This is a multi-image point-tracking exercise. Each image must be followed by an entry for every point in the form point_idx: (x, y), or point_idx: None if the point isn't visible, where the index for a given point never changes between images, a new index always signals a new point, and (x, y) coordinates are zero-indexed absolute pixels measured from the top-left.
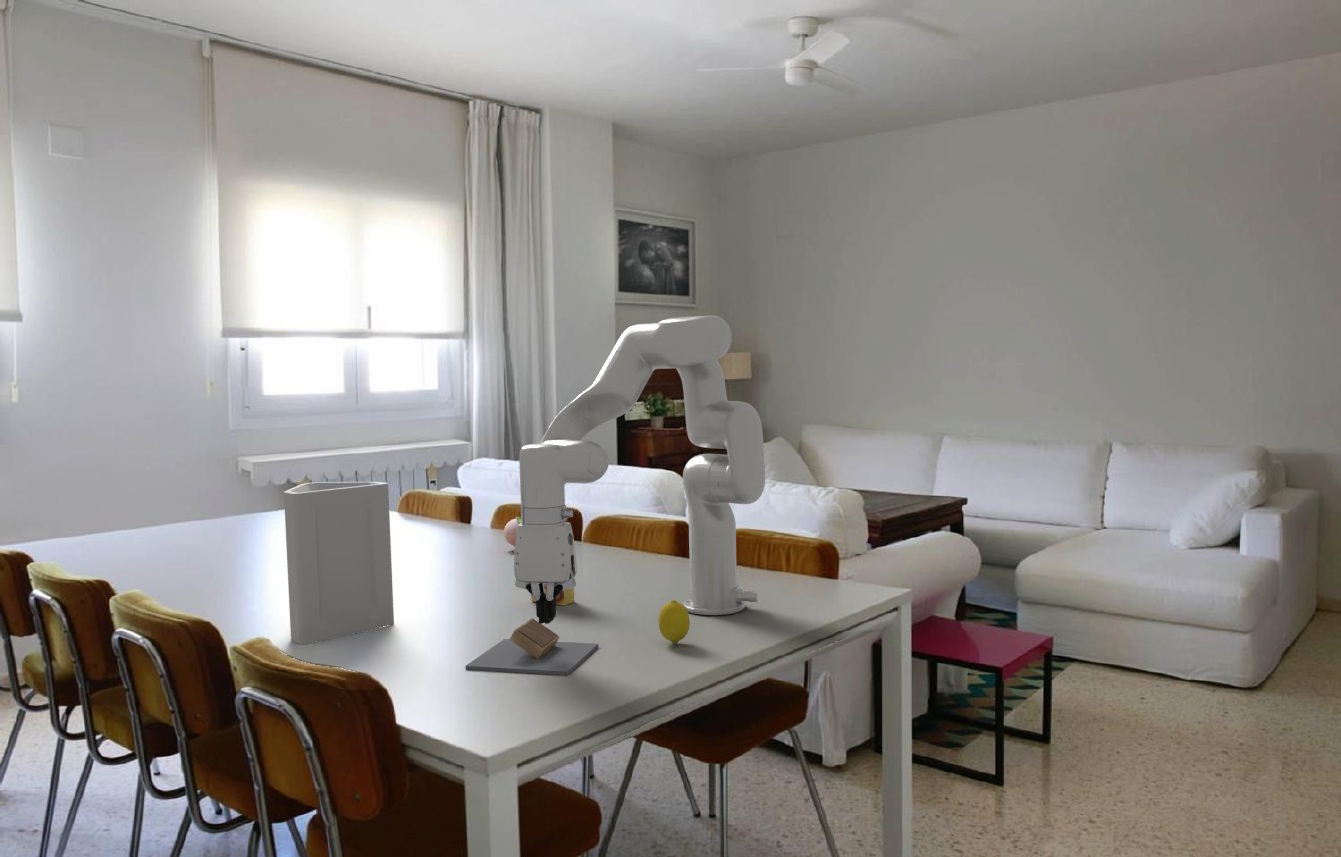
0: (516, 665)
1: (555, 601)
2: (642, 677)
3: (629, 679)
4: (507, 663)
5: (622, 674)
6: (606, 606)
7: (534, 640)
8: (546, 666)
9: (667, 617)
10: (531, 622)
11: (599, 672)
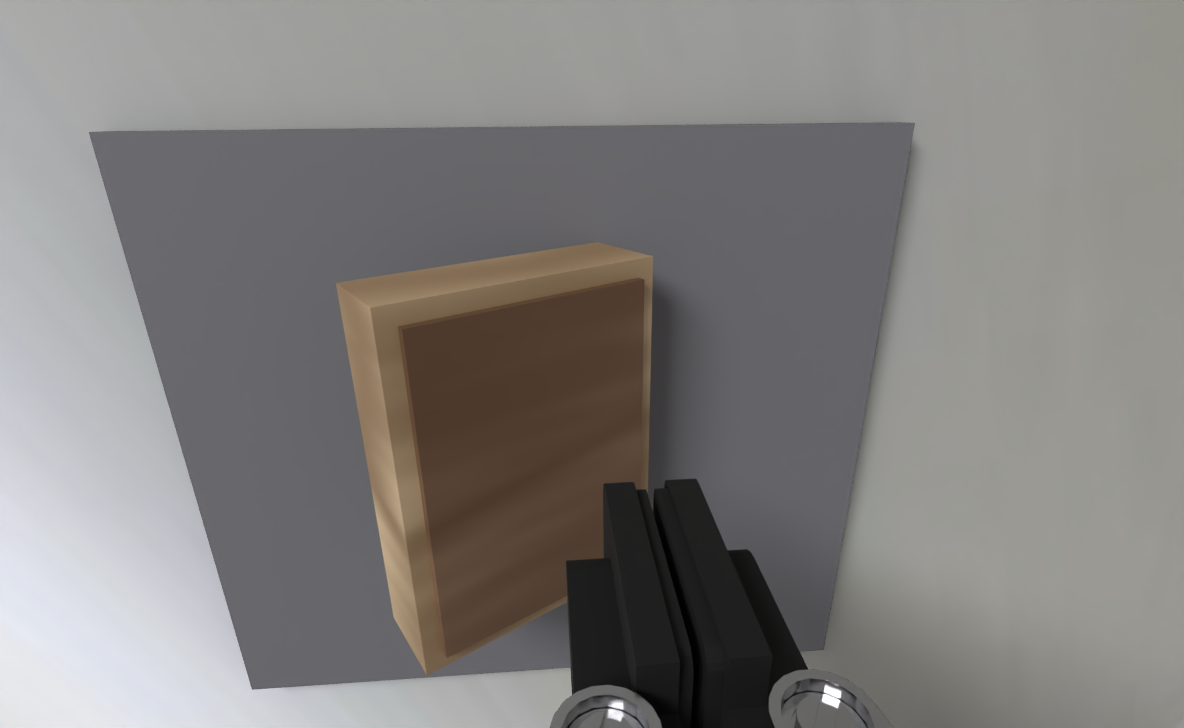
0: (525, 629)
1: (803, 666)
2: (1168, 586)
3: (1107, 619)
4: None
5: (1076, 571)
6: None
7: None
8: None
9: None
10: (432, 418)
11: (962, 570)
